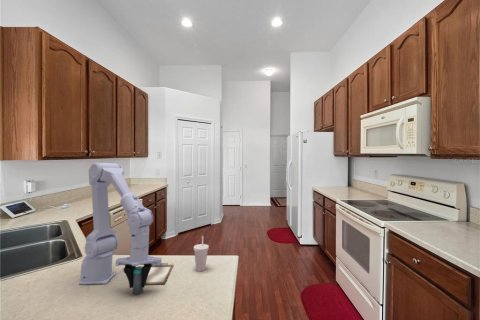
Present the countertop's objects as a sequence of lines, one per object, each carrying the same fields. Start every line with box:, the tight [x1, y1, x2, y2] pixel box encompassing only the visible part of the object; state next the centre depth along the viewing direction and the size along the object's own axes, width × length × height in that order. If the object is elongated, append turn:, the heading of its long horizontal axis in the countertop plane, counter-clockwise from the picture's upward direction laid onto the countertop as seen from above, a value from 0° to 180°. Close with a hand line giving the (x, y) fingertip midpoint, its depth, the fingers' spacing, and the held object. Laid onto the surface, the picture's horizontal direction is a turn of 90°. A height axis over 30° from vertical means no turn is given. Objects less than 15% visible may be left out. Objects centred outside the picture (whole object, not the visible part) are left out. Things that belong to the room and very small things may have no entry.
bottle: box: [131, 265, 144, 296], centre depth 75 cm, size 3×3×8 cm
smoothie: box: [193, 235, 210, 273], centre depth 93 cm, size 6×6×14 cm
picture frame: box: [145, 262, 174, 286], centre depth 88 cm, size 12×16×1 cm
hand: (137, 286), depth 75 cm, fingers closed on bottle, 3 cm apart
